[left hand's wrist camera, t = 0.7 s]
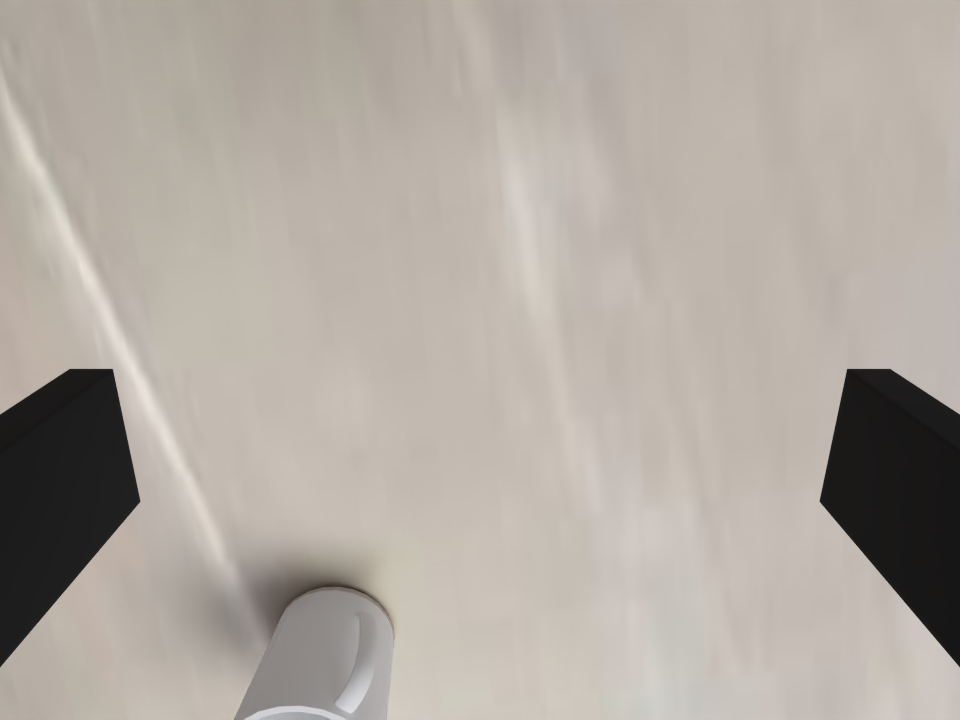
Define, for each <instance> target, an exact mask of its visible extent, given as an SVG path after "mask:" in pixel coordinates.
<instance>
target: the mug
mask: <svg viewBox="0 0 960 720" xmlns="http://www.w3.org/2000/svg"><path fill="white" fill-rule="evenodd" d="M393 647H394V630H393V625H392V623H391V621H390V619H389V616H388V614H387V613H386V612H385V611H384V609H383V608H382V607H381V606H380V605H379V604H378V603H377V602H376V601H375V600H373V599H372V598H370V597H369V596H368V595H366V594H363V593H361V592H359V591H356V590H354V589H349V588H343V587H322V588H318V589H314V590H310V591H308V592H306V593H304V594H303V595H301V596H299V597H297V598H295V599H294V600H293V601H292V602H291V603H290V604H289V605H288V606H287V607H286V608H285V610H284V612H283V614H282V616H281V618H280V620H279V623H278V625H277V627H276V629H275V631H274V634H273V636H272V638H271V640H270V642H269V644H268V647H267V649H266V651H265V653H264V655H263V657H262V660H261V662H260V664H259V666H258V668H257V671H256V673H255V675H254V677H253V679H252V681H251V684H250V686H249V688H248V690H247V692H246V694H245V697H244V699H243V701H242V703H241V705H240V707H239V710H238V712H237V714H236V716H235V718H234V720H387V709H388V699H389V689H390V678H391V668H392V657H393Z"/></svg>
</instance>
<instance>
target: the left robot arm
mask: <svg viewBox="0 0 960 720" xmlns="http://www.w3.org/2000/svg"><path fill="white" fill-rule="evenodd" d="M139 503H140V497H139V493H138V488H137V483H136V478H135V473H134V469H133V464H132V459H131V454H130V449H129V445H128V440H127V435H126V430H125V426H124V421H123V416H122V411H121V406H120V402H119V397H118V392H117V387H116V382H115V378H114V373H113V369H69V370H68V371H66V372H65V373H63V374H61V375H60V376H58V377H57V378H55V379H54V380H52V381H51V382H49V383H48V384H46V385H45V386H43V387H42V388H40V389H39V390H37V391H36V392H34V393H32V394H31V395H29V396H28V397H26V398H25V399H23V400H22V401H20V402H19V403H17V404H16V405H14V406H13V407H11V408H10V409H8V410H7V411H5V412H3V413H2V414H0V667H1V666H2V664H3V663H4V662H5V661H6V660H7V659H8V657H9V656H10V655H11V654H12V653H13V651H14V650H15V649H16V648H17V647H18V646H19V644H20V643H21V642H22V641H23V640H24V638H25V637H26V636H27V635H28V634H29V633H30V631H31V630H32V629H33V628H34V627H35V625H36V624H37V623H38V622H39V621H40V620H41V618H42V617H43V616H44V615H45V614H46V612H47V611H48V610H49V609H50V608H51V607H52V605H53V604H54V603H55V602H56V601H57V599H58V598H59V597H60V596H61V595H62V594H63V592H64V591H65V590H66V589H67V588H68V586H69V585H70V584H71V583H72V582H73V581H74V579H75V578H76V577H77V576H78V575H79V573H80V572H81V571H82V570H83V569H84V568H85V566H86V565H87V564H88V563H89V562H90V560H91V559H92V558H93V557H94V556H95V555H96V553H97V552H98V551H99V550H100V549H101V547H102V546H103V545H104V544H105V543H106V542H107V540H108V539H109V538H110V537H111V536H112V535H113V533H114V532H115V531H116V530H117V529H118V527H119V526H120V525H121V524H122V523H123V522H124V520H125V519H126V518H127V517H128V516H129V514H130V513H131V512H132V511H133V510H134V509H135V507H136V506H137V505H138V504H139ZM820 503H821V504H822V505H823V506H824V507H825V509H826V510H827V511H828V512H829V513H830V514H831V516H832V517H833V518H834V519H835V520H836V522H837V523H838V524H839V525H840V526H841V527H842V529H843V530H844V531H845V532H846V533H847V535H848V536H849V537H850V538H851V539H852V540H853V542H854V543H855V544H856V545H857V546H858V547H859V549H860V550H861V551H862V552H863V553H864V555H865V556H866V557H867V558H868V559H869V560H870V562H871V563H872V564H873V565H874V566H875V568H876V569H877V570H878V571H879V572H880V573H881V575H882V576H883V577H884V578H885V579H886V581H887V582H888V583H889V584H890V585H891V586H892V588H893V589H894V590H895V591H896V592H897V594H898V595H899V596H900V597H901V598H902V599H903V601H904V602H905V603H906V604H907V605H908V607H909V608H910V609H911V610H912V611H913V612H914V614H915V615H916V616H917V617H918V618H919V620H920V621H921V622H922V623H923V624H924V625H925V627H926V628H927V629H928V630H929V631H930V633H931V634H932V635H933V636H934V637H935V638H936V640H937V641H938V642H939V643H940V644H941V646H942V647H943V648H944V649H945V650H946V651H947V653H948V654H949V655H950V656H951V657H952V659H953V660H954V661H955V662H956V663H957V664H958V666H959V667H960V414H958V413H957V412H955V411H953V410H952V409H950V408H949V407H947V406H946V405H944V404H943V403H941V402H940V401H938V400H937V399H935V398H934V397H932V396H931V395H929V394H928V393H926V392H924V391H923V390H921V389H920V388H918V387H917V386H915V385H914V384H912V383H911V382H909V381H908V380H906V379H905V378H903V377H902V376H900V375H899V374H897V373H895V372H894V371H892V370H891V369H847V373H846V378H845V382H844V387H843V392H842V397H841V402H840V406H839V411H838V416H837V421H836V425H835V430H834V435H833V440H832V445H831V449H830V454H829V459H828V464H827V469H826V473H825V478H824V483H823V488H822V493H821V497H820Z"/></svg>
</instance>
